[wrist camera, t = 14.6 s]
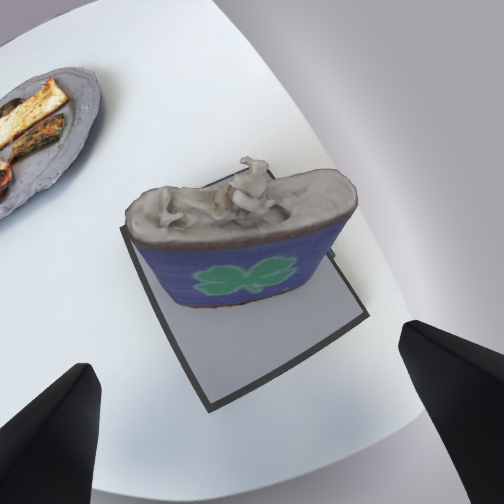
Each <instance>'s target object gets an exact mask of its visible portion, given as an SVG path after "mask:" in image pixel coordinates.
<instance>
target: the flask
mask: <svg viewBox="0 0 504 504" xmlns="http://www.w3.org/2000/svg"><path fill="white" fill-rule="evenodd" d="M240 163H242V164H246V165H249V168H250V171H249V173H248V174H246V175H243V174H234V175H235V178H234V180H233V181H231V182H229V183H227V184H226V185H225V186H223V185H221V186H220V187H205V188H194V189H192V188H185V187H183V188H177V187H171V186H165V187H160V188H155V189H150V190H148V191H146V192H144V193H142V194H141V196H140V197H139V198H138V199H137V200H135V201H133V202H132V204H131V205H130V206H129V207H128V208H127V209H126V210H125V216H126V220H125V226H126V231H127V233H128V236H129V238H130V240H131V241H132V243H133V244H134V245H135V247H136V248H137V250H138V251H139V253H140V254H141V255H142V257H143V258H144V260H145V261H146V263H147V264H148V266H149V267H150V268H151V270H152V271H153V273H154V274H155V275H156V278H157V279H158V281H159V282H160V284H161V286H162V288H163V289H164V290H165V291H166V292H167V293H168V295H169V296H170V297H171V298H172V299H173V301H174V302H175V303H176V304H178V305H180V306H182V307H189V308H194V309H198V308H200V309H201V308H202V309H203V308H212V309H217V308H218V307H219V308H226V307H233V306H237V305H238V306H241V305H245V304H247V303H250V302H254V301H256V302H257V301H258V300H262V299H267V298H270V297H272V296H276V295H281V294H284V293H286V292H288V291H292V290H295V288H298V287H299V286H302V285H304V284H305V283H306V282H307V281H308V280H309V279H310V278H311V277H312V276H313V274H314V272H315V271H316V269H317V268H318V266H319V264H320V262H321V261H322V259H323V257H324V256H325V254H326V253H327V251H328V250H329V249H330V247H331V246H332V244H333V243H334V241H335V239H336V238H337V236H338V235H339V233H340V232H341V230H342V229H343V227H344V226H345V224H346V222H347V221H348V220H349V218H350V217H351V216H352V214H353V213H354V211H355V210H356V208H357V206H358V196H357V190H356V187H355V186H354V185H353V184H352V183H351V182H350V180H349V179H348V178H347V177H346V176H344V175H342V174H341V173H340V172H339V171H338V170H336V169H316V170H312V171H309V172H306V173H300V174H295V175H293V176H290V177H284V178H279V179H271V180H268V181H267V180H266V179H265V178H264V177H263V174H264V173H265V172H266V171H267V170H268V168H269V165H268V164H267V163H266V162H265V161H263V160H253V159H251V158H249V157H247V156H246V157H244V158H242V159H241V160H240Z"/></svg>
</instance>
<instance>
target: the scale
mask: <svg viewBox="0 0 504 504" xmlns="http://www.w3.org/2000/svg"><path fill="white" fill-rule="evenodd" d="M249 171H250V168H249V167H248V168H246V169H244V170H241V171H239V172H236V173H234V174H243V175H246V174H248V173H249ZM234 174H232V175H229V176H227V177H225V178H222V179H220V180H218V181H216V182H213V183H211V184H209V185H207V186H204V187H202V188H205V187H220V186H221V185H223V186H225V185H226V184H227V183H229V182H231V181H233V180H234V178H235V175H234ZM263 177H264V178H265V179H266V180H267V181H268V180H271V179H275V177H274V176H273V175H272V173H271V172H270V171H269V169H268V170H267V171H266V172H265V173H264V174H263ZM120 231H121V234H122V236H123V239H124V241H125V244H126V247H127V249H128V252H129V254H130V257H131V259H132V261H133V264H134V266H135V269H136V271H137V273H138V276H139V278H140V280H141V283H142V285H143V287H144V290H145V292H146V294H147V296H148V299H149V301H150V303H151V305H152V307H153V310H154V312H155V314H156V316H157V318H158V320H159V322H160V324H161V326H162V328H163V330H164V333H165V335H166V337H167V339H168V341H169V343H170V345H171V347H172V348H173V350H174V352H175V354H176V356H177V358H178V360H179V362H180V364H181V366H182V368H183V369H184V371H185V373H186V375H187V377H188V379H189V380H190V382H191V384H192V386H193V388H194V389H195V391H196V393H197V395H198V396H199V398H200V400H201V402H202V403H203V405H204V407H205V408H206V410H207V412H208V413H211V412H213V411H215V410H217V409H219V408H221V407H223V406H225V405H227V404H229V403H230V402H232V401H234V400H236V399H238V398H240V397H242V396H244V395H246V394H247V393H249V392H251V391H253V390H255V389H257V388H258V387H260V386H262V385H264V384H265V383H267V382H269V381H271V380H272V379H274V378H276V377H278V376H279V375H281V374H283V373H284V372H286V371H288V370H289V369H291V368H293V367H294V366H296V365H298V364H299V363H301V362H302V361H304V360H306V359H307V358H309V357H310V356H312V355H314V354H315V353H317V352H318V351H320V350H321V349H323V348H324V347H326V346H327V345H329V344H330V343H332V342H333V341H335V340H336V339H338V338H339V337H341V336H342V335H344V334H345V333H347V332H348V331H350V330H351V329H352V328H354V327H355V326H357V325H358V324H360V323H361V322H362V321H364V320H365V319H367V318H368V317H369V316H370V315H369V313H368V312H367V310H366V308H365V307H364V305H363V304H362V302H361V301H360V299H359V297H358V296H357V294H356V293H355V291H354V290H353V288H352V287H351V285H350V284H349V282H348V281H347V279H346V278H345V276H344V275H343V273H342V272H341V270H340V269H339V267H338V266H337V264H336V263H335V261H334V260H333V258H334V257H335V256H336V255H335V253H334V252H333V251H332V249H331V248H330V249H329V250H328V251H327V253H326V254H325V256H324V257H323V259H322V261H321V262H320V264H319V266H318V268H317V269H316V271H315V272H314V274H313V276H312V277H311V278H310V279H309V280H308V281H307V282H306V283H305V284H304V285H302V286H299V287H298V288H295V290H292V291H288V292H286V293H284V294H281V295H276V296H272V297H270V298H267V299H262V300H258V301H257V302H256V301H254V302H250V303H247V304H245V305H241V306H238V305H237V306H233V307H226V308H219V307H218V308H217V309H212V308H203V309H202V308H201V309H200V308H198V309H194V308H189V307H182V306H180V305H178V304H176V303H175V302H174V301H173V299H172V298H171V297H170V296H169V295H168V293H167V292H166V291H165V290H164V289H163V288H162V286H161V284H160V282H159V281H158V279H157V278H156V275H155V274H154V273H153V271H152V270H151V268H150V267H149V266H148V264H147V263H146V261H145V260H144V258H143V257H142V255H141V254H140V253H139V251H138V250H137V248H136V247H135V245H134V244H133V243H132V241H131V240H130V238H129V236H128V233H127V231H126V226H125V225H124V226H122V227H120Z"/></svg>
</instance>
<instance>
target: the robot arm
mask: <svg viewBox="0 0 504 504" xmlns="http://www.w3.org/2000/svg"><path fill="white" fill-rule="evenodd" d="M398 348H399V352H400V355H401V357H402V359H403V361H404V364H405V366H406V368H407V371H408V373H409V375H410V378H411V380H412V383H413V385H414V387H415V389H416V391H417V393H418V395H419V397H420V399H421V401H422V403H423V405H424V407H425V408H426V410H427V412H428V414H429V416H430V418H431V420H432V422H433V423H434V426H435V427H436V429H437V431H438V433H439V435H440V437H441V439H442V441H443V443H444V445H445V447H446V449H447V451H448V453H449V455H450V457H451V460H452V462H453V464H454V466H455V468H456V470H457V472H458V474H459V477H460V479H461V481H462V483H463V485H464V488H465V490H466V492H467V495H468V497H469V500H470V502H471V504H504V355H502V354H500V353H498V352H495V351H493V350H490V349H488V348H485V347H483V346H480V345H478V344H475V343H473V342H470V341H468V340H466V339H463V338H460V337H458V336H456V335H453V334H451V333H448V332H446V331H443V330H441V329H438V328H436V327H433V326H431V325H428V324H426V323H423V322H421V321H418V320H413V321H409V322H406V323H404V325H403V327H402V331H401V336H400V340H399V344H398ZM101 393H102V388H101V384H100V382H99V380H98V378H97V376H96V374H95V372H94V369H93V367H92V366H91V365H90V364H89V363H77V364H75V365H74V366H73V367H71V368H70V369H69V370H68V371H67V372H65V373H64V374H63V375H62V376H61V377H60V378H58V379H57V380H56V381H55V382H54V383H52V384H51V385H50V386H49V387H48V388H47V389H45V390H44V391H43V392H42V393H41V394H39V395H38V396H37V397H36V398H35V399H34V400H32V401H31V402H30V403H29V404H28V405H27V406H25V407H24V408H23V409H22V410H21V411H20V412H19V413H17V414H16V415H15V416H14V417H13V418H12V419H10V420H9V421H8V422H7V423H6V424H5V425H4V426H2V427H1V428H0V504H90V499H91V489H92V480H93V471H94V463H95V456H96V449H97V443H98V436H99V420H100V405H101Z"/></svg>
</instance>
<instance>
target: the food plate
mask: <svg viewBox="0 0 504 504" xmlns="http://www.w3.org/2000/svg"><path fill="white" fill-rule="evenodd" d="M35 77H36V76H35ZM33 78H34V77H33ZM33 78H31V79H32V80H31V79H29V80H30V81H29V80H27V81H28V82H27V81H25V82H26V83H25V82H24V83H25V84H24V83H22V84H23V85H22V84H21V85H22V86H21V85H19V86H18V87H16V88H15V89H13V90H12V91H11V92H9V93H8V94H7V95H5V96H4V97H3V98H4V99H3V98H2V99H3V100H2V99H0V100H1V101H0V221H1V220H2V219H3V218H5V217H6V216H8V215H9V214H11V213H12V212H13V210H14V209H16V208H18V207H19V206H21V205H22V204H24V203H26V202H27V200H28V199H29V198H30V197H32V196H33V195H34V193H35V192H38V191H41V190H43V189H47V188H49V187H51V186H52V185H53V184H54V183H55V182H56V181H57V179H59V177H60V176H61V175H62V173H64V171H66V170H67V168H68V167H69V166H70V164H71V163H72V162H73V161H74V159H76V157H77V156H78V154H79V153H80V151H81V150H82V148H83V146H84V142H85V141H86V140H87V136H88V135H89V134H88V132H89V129H90V127H91V125H92V123H93V121H94V120H95V118H96V116H97V113H98V110H99V104H100V97H101V96H100V95H101V94H100V88H99V85H98V81H97V79H96V76H95V75H94V72H91V71H87V70H84V69H82V68H80V67H79V68H76V67H68V68H67V67H66V68H60V69H56V70H53V71H51V72H48V73H46V74H43V75H40V76H37V77H36V78H34V79H33ZM45 186H46V187H45ZM43 187H44V188H43ZM42 188H43V189H42Z"/></svg>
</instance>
